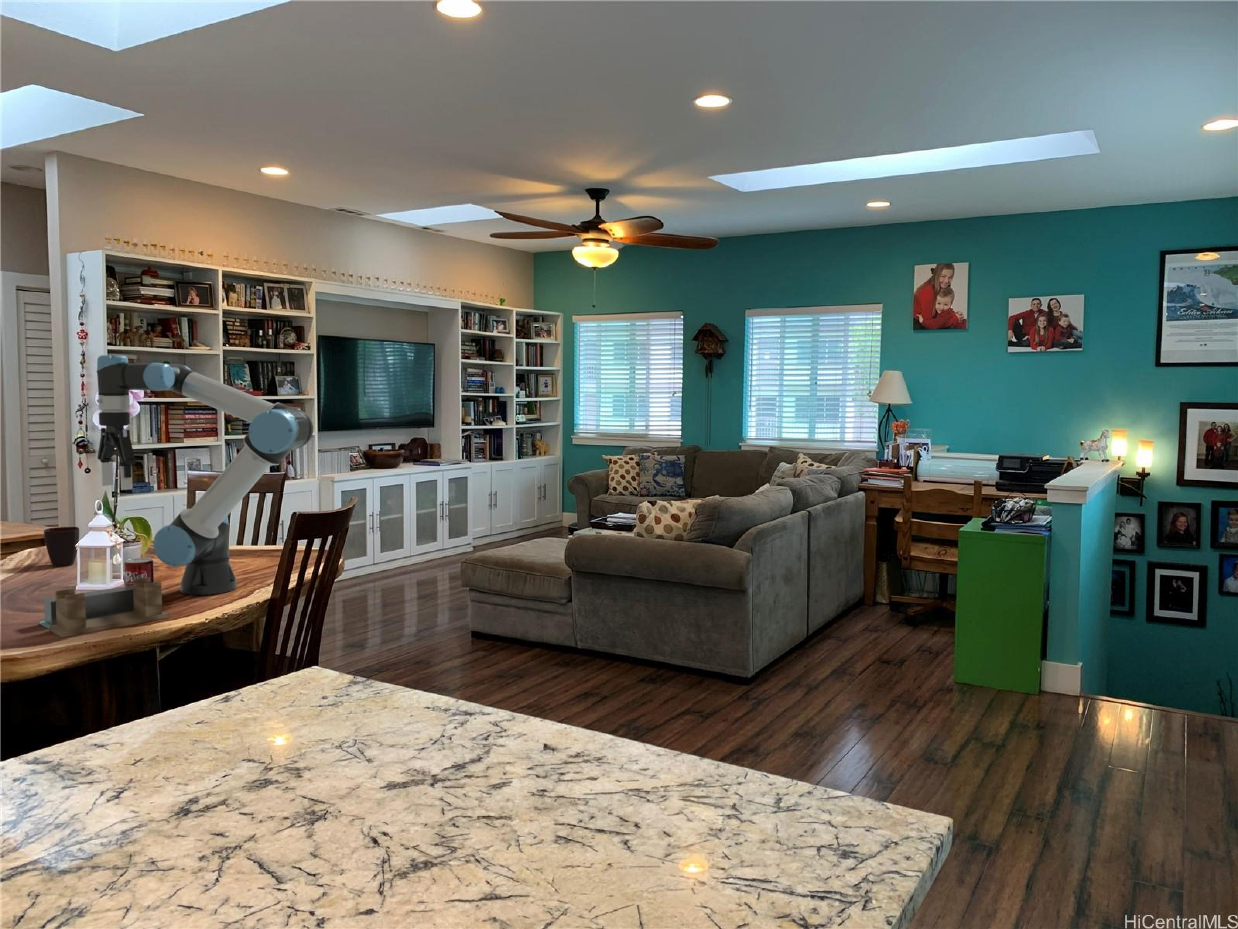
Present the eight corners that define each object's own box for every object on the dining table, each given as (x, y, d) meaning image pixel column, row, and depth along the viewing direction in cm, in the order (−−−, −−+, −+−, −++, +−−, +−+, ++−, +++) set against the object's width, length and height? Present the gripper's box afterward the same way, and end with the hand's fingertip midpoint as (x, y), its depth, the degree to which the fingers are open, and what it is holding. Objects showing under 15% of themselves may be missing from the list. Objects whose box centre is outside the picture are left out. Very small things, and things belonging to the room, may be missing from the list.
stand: (155, 612, 240) (154, 576, 239) (169, 617, 235) (167, 581, 234) (49, 630, 221) (47, 591, 220) (61, 637, 216) (59, 597, 215)
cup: (44, 569, 292) (42, 532, 291) (48, 561, 305) (46, 526, 303) (79, 566, 297) (78, 530, 296) (82, 559, 309) (80, 524, 308)
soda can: (142, 606, 246) (140, 563, 245) (119, 605, 247) (117, 562, 246) (160, 600, 253) (159, 558, 252) (138, 598, 254) (136, 557, 253)
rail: (136, 606, 244) (136, 584, 244) (144, 609, 241) (143, 587, 240) (44, 622, 228) (43, 598, 227) (51, 625, 224) (50, 602, 224)
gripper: (82, 410, 254) (85, 484, 256) (117, 412, 238) (120, 492, 240) (111, 409, 260) (114, 482, 262) (147, 412, 244) (149, 490, 246)
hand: (117, 487), depth 251 cm, fingers open, 13 cm apart
